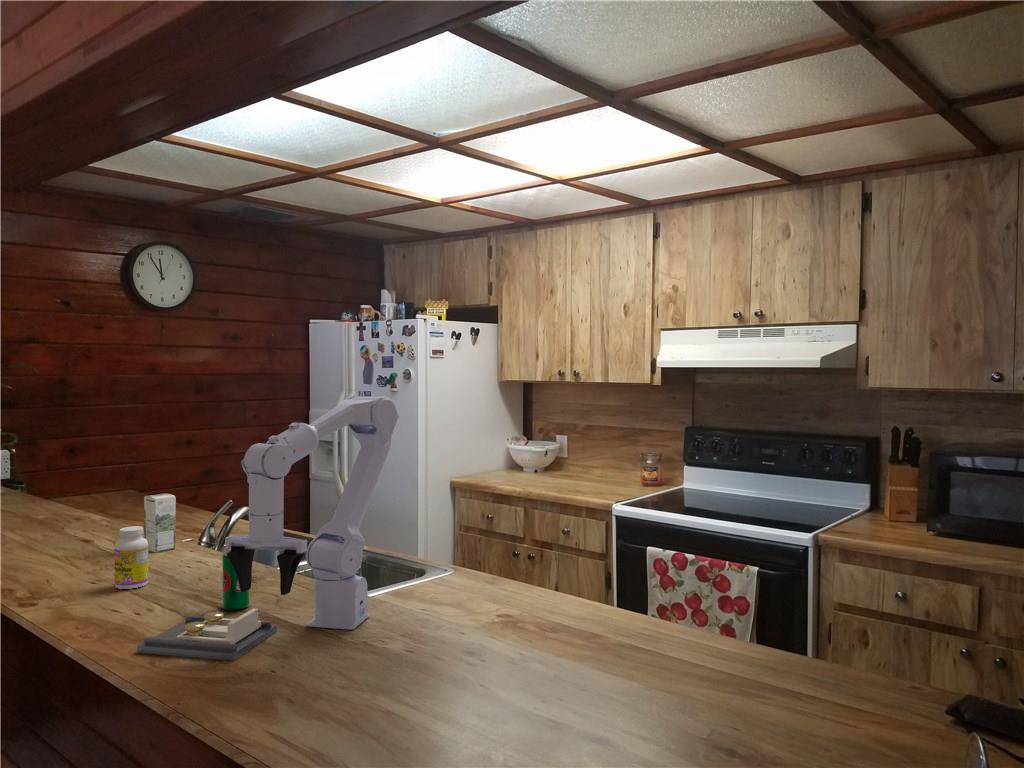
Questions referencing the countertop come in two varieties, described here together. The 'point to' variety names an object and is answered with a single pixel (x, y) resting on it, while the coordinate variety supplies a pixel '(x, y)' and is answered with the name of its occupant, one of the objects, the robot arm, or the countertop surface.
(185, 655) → the boss plate
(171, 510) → the syrup box
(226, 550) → the soda can
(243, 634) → the panel
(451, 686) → the countertop surface
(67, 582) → the countertop surface
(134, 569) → the supplement bottle
